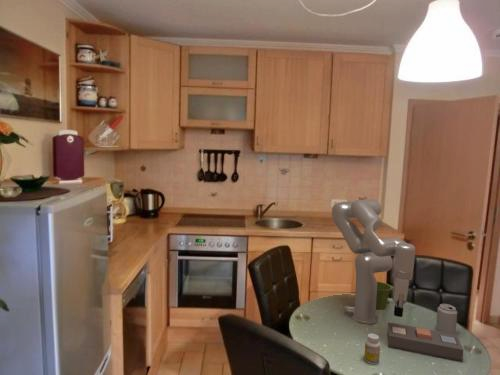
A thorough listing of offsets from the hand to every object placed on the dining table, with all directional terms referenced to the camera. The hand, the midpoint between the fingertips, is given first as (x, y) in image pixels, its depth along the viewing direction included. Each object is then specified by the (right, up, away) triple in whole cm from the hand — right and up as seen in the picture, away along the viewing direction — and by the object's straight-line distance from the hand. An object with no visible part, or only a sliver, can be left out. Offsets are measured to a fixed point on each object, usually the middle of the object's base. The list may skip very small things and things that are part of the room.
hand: (398, 315), depth 144 cm
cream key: (0, -10, 0) cm, 10 cm away
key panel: (+9, -12, -3) cm, 15 cm away
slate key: (+17, -11, -6) cm, 21 cm away
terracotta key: (+9, -9, -3) cm, 13 cm away
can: (+25, -11, +9) cm, 29 cm away
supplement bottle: (-16, -12, -13) cm, 24 cm away
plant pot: (+4, -8, +34) cm, 35 cm away
